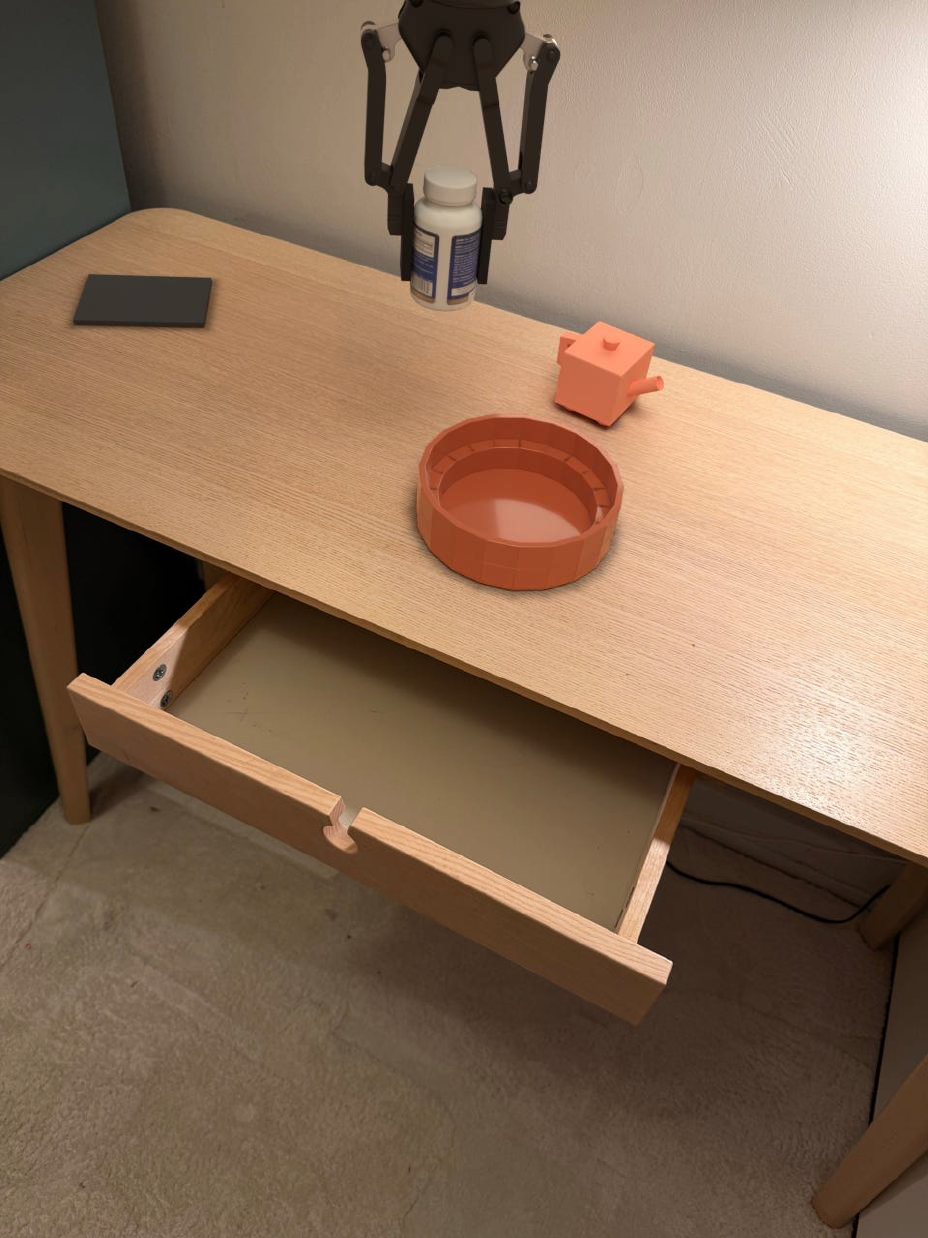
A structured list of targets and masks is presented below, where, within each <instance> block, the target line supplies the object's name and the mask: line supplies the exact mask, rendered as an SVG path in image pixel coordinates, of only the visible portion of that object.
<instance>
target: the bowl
mask: <svg viewBox="0 0 928 1238" xmlns="http://www.w3.org/2000/svg"><path fill="white" fill-rule="evenodd" d="M624 491H625V485H624V482H623V478H622V476H621V472H620V469H619V467H618V464H617V463H616V462H615V461H614V460H613V458H612V457H611V456H610V454H609V453H608V452H607V451H606V449H604V447H603V446H602V445H601V444H599V443H598V442H596V441H595V440H593V439H592V438H590V437H589V436H588V435H586V434H585V433H583V432H582V431H580V430H578V429H576V428H574V427H571V426H570V425H567V424H564V423H562V422H559V421H557V420H555V419H554V420H553V419H550V418H546V417H540V416H536V415H530V414H526V413H491V414H490V413H489V414H485V415H480V416H475V417H470V418H466V419H463V420H461V421H459V422H457V423H455V424H452V425H450V426H449V427H446V428H444V429H442V431H440V432H439V433H438V434H437V435H436V436H435V437H433V439H432V440H431V441H429V443H428V444H427V445H426V446H425V448H424V450H423V453H422V456H421V459H420V461H419V464H418V470H417V488H416V505H415V509H416V521H417V529H418V532H419V534H420V535H421V537H422V539H423V540H424V543H425V544H426V546H427V548H428V549H429V551H430V552H431V553H432V554H433V555H434V556H435V557H437V558H438V559H439V560H440V561H441V562H442V563H443V564H444V565H446V566H447V567H448V568H449V569H451V570H452V571H454V572H456V573H458V574H460V575H463V576H464V577H467V578H469V579H471V580H473V581H475V582H477V583H480V584H483V585H489V586H492V587H497V588H501V589H502V588H503V589H506V590H512V591H517V590H520V591H525V590H548V589H550V588H555V587H559V586H561V585H566V584H570V583H573V582H576V581H577V580H578V579H579V580H580V578H581V577H582V578H583V576H585V575H587V574H588V573H590V572H592V571H593V570H595V569H596V568H597V566H598V565H599V564H600V563H601V561H602V559H603V558H604V557H605V555H606V554H607V552H608V551H609V550H610V547H611V543H612V539H613V535H614V533H615V529H616V526H617V522H618V518H619V515H620V512H621V508H622V502H623V495H624Z"/></svg>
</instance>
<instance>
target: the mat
mask: <svg viewBox="0 0 928 1238" xmlns="http://www.w3.org/2000/svg"><path fill="white" fill-rule="evenodd" d="M212 284H213V279H212V277H201V276H200V277H199V276H169V275H168V276H166V275H165V276H164V275H133V274H131V275H130V274H101V273H100V274H96V273H88V275H87V278H86V281H85V284H84V286H83V290H82V293H81V295H80V298H79V300H78V301H79V302H78V304H77V307H76V310H75V313H74V315H73V319H72V321H73V322H72V323H73V325H76V326H77V325H78V326H79V325H80V326H81V325H83V326H121V327H123V326H125V327H127V326H128V327H164V328H165V327H169V328H171V327H172V328H205V325H206V320H207V314H208V308H209V303H210V296H211V290H212Z"/></svg>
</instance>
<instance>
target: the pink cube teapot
mask: <svg viewBox="0 0 928 1238" xmlns="http://www.w3.org/2000/svg"><path fill="white" fill-rule="evenodd" d="M558 343H559V344H558V350H557V357H556V364H557V365H558V366H560V367H559V368H560V369H559V374H558V378H557V385H556V388H555V389H556V390H555V394H554V400H553V402H554V403H556V404H559V405H561V406H563V407H564V408H565V409H566V410H568V411H571V412H576V413H579V414H581V415H583V416H586V417H588V418H590V419H592V420H593V421H594V420H595V421H596V422H597V423H598V424H599V425H601V426H606V427H610V426H611V425H612V424H613V423H614V422H616V420H617V419H618V418H619V417H620V416H621V415H622V414H623V413H624V412H625V411H626V410H627V409H628V408H629V407H630V406H631V405H632V403H634V402H635V401H636V400H637V398H639V397H640V395H645V394H651V393H655V392H659V391H663V390H664V388H665V381H664V379H663V377H662V376H661V375H655V376H651V377H647V376H648V372H649V370H650V369H649V368H650V366H651V361H652V358H653V354H654V351H655V347H656V344H655V342H652V341H650V340H647V339H645V338H642V337H640V336H638V335H635V334H633V333H630V332H627V331H626V330H623V329H621V328H618V327H615V326H613V325H610V324H608V323H605V322H604V321H601V320H599V321H598V322H596V323H595V324H594V325H593V326H591V328H589V329H588V330H586V332H584V333H583V334H579V333H574V332H570V331H565V332H564V333H563V334H562V335H560V336H559V342H558Z"/></svg>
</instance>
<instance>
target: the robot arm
mask: <svg viewBox="0 0 928 1238" xmlns="http://www.w3.org/2000/svg"><path fill="white" fill-rule="evenodd" d="M401 40H402V41H403V43H404V45H405V47H406V48H407V50H408V52H409V53H410V55H411V57H412V59H413V60H414V62H415V63H416V66H417V67H418V70H417V74H416V76H415V81H414V86H413V89H412V93H411V97H410V100H409V102H408V106H407V110H406V113H405V116H404V120H403V122H402V126H401V128H400V131H399V132H400V133H399V135H398V140H397V143H396V146H395V148H394V151H393V155H392V159H391V161H390V164H387V163H386V162H384V161H383V152H384V151H383V147H384V132H385V112H386V97H387V95H386V93H387V68H386V67H387V66H386V65H387V64H386V63H389V62H391V61H392V60H393V59H394V57H395V53H396V52H395V51H396V50H395V48H396V45H397V43H398V42H399V41H401ZM360 47H361V51H362V55H363V58H364V60H365V64H366V65H365V66H366V69H367V80H366V82H367V85H366V106H365V108H366V109H365V130H364V131H365V133H364V136H365V137H364V154H363V155H364V156H363V157H364V158H363V159H364V160H363V168H364V169H363V171H364V172H363V173H364V182H365V183H366V184H367V185H368V186H371V187H379V188H381V189H383V190H384V191H385V192H386V194H387V205H386V207H387V208H386V210H387V211H386V226H387V231H388V234H389V236H397V237H398V236H399V237H400V249H399V251H400V254H399V272H400V282H410V281H411V262H412V241H413V220H414V206H415V191H414V183H412V182H409V180H410V177H411V173H412V170H413V167H414V165H415V161H416V158H417V155H418V152H419V148H420V146H421V142H422V139H423V137H424V133H425V130H426V127H427V123H428V121H429V118H430V115H431V112H432V108H433V106H434V105H435V103H436V101H437V97H438V94H439V91H440V90H450V89H454V88H455V89H456V88H461V89H465V90H466V91H470V92H478V98H479V104H480V108H481V109H480V110H481V116H482V121H483V128H484V134H485V142H486V146H487V152H488V158H489V164H490V165H489V166H490V170H491V172H490V173H491V177H492V183H493V185H492V186H493V187H487V186H483V187H482V190H481V191H482V192H481V200H480V208H481V210H482V215H483V220H482V230H481V239H480V249H479V259H478V269H477V278H476V284H477V285H486V286H487V285H488V278H489V272H490V271H489V269H490V263H491V262H490V260H491V252H492V244H493V243H492V242H493V241H504V239H505V237H506V235H507V230H508V221H509V214H510V205H511V204H513V201H514V198H515V197H516V196H518V195H521V194H525V195H532V194H534V193H535V192H536V190H537V188H538V183H539V172H540V166H541V165H540V164H541V154H542V146H543V138H544V129H545V128H544V127H545V119H546V110H547V102H548V93H549V92H548V91H549V85H550V82H551V80H552V78H553V77H554V76H553V75H554V73H555V71H556V69H557V67H558V65H559V62H560V60H561V55H562V54H561V50H560V49H559V46H558V43H557V40H556V39H555V37H554V35H552V34H551V33H550V34H549V33H545V34H542V35H540V34H538V33H536V32H534V31H532V30H530V29H528V28H526V25H525V21H524V19H523V15H522V0H404V1H403V4H402V5H401V8H400V9H399V12H398V15H397V18H394V19H391V20H387V21H383V22H380V23H377V24H376V23H375V22H374V21H372V20H366V21H364V22H363V23H362V24H361V25H360ZM519 49H521V50H522V51H523V55H522V63H523V65H524V68H525V69H526V76H525V85H524V86H525V87H524V97H523V107H522V108H523V109H522V116H521V117H522V119H521V129H520V131H521V132H520V137H519V138H520V140H519V148H518V149H519V151H518V159H517V160H518V161H517V169H515V170H511V171H510V167H509V160H508V154H507V147H506V139H505V134H504V127H503V120H502V113H501V107H500V98H499V91H498V83H497V78H498V76H499V75H500V74H501V73H502V71H503V70H504V68H505V67H506V66H507V64H508V63H509V62H510V61H511V60H512V58H513V57H514V56H515V54H517V52H518V51H519Z"/></svg>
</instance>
